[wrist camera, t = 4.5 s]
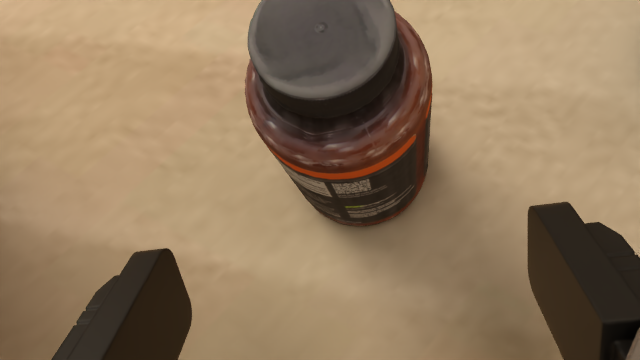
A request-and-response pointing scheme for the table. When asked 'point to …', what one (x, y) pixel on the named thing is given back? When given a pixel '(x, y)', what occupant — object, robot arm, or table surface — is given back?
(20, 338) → the table surface
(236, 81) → the table surface
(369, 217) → the supplement bottle
